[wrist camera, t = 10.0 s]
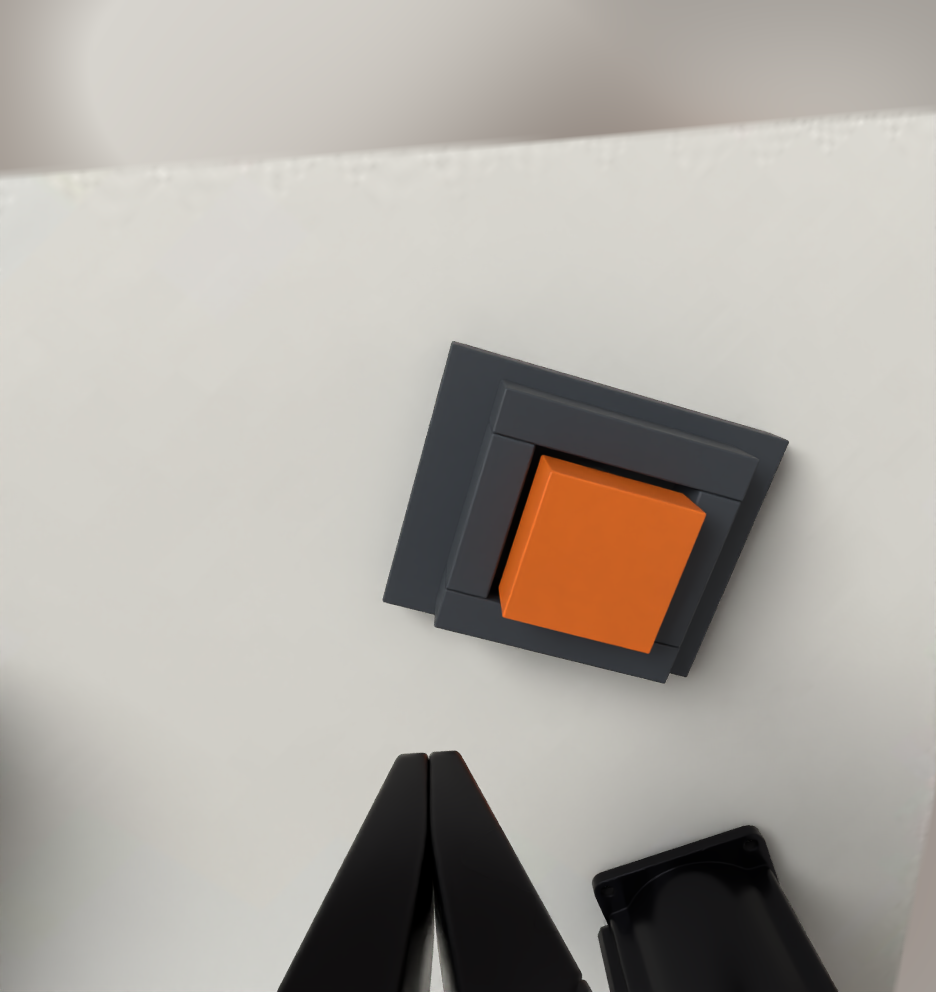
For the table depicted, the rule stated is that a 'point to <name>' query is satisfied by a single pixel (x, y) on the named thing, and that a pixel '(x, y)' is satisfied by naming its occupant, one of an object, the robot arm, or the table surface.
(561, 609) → the button
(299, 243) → the table surface
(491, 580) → the block
